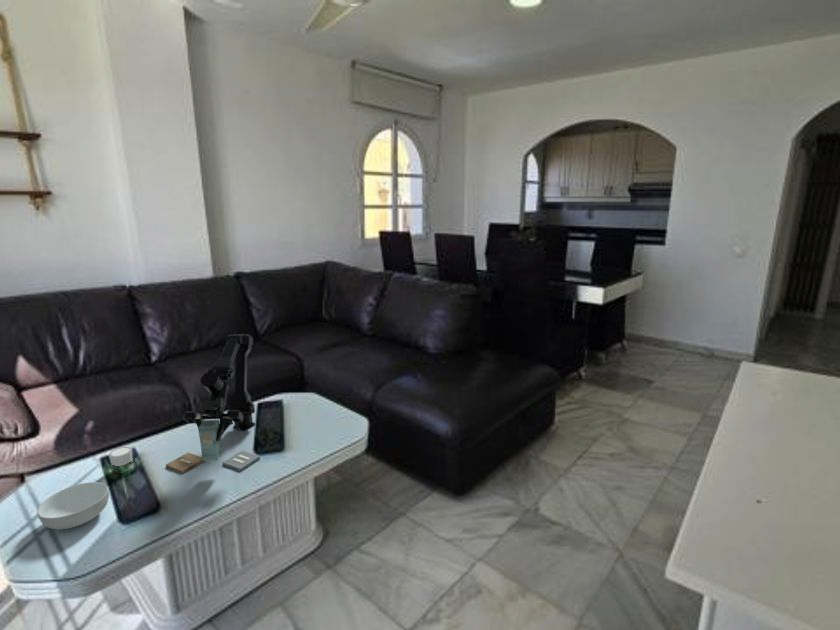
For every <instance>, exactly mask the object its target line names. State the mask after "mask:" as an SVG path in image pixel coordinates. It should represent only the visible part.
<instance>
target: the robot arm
mask: <svg viewBox="0 0 840 630" xmlns="http://www.w3.org/2000/svg"><path fill="white" fill-rule="evenodd" d="M253 344H254V338H253V336H251V335H250V334H248V333H247V334H244V333H242V334H240V333H239V334H229V335H227V337H226V343H225V345H224V348H223V351H222V353H221V356H220V358H219V359H218V360H216V361H214V363H213V364H212V366H211V368H209V369H208V371H207V372H205V373H204V374H203V375H202V376H201V378H200V384H201V386H202V387H203V388H204V389H206V391H207V392H209V395H208V397H207V398H206V400H202V401H200V402H199V403H200V404H199V411H200V412H201V411H202V412H203V413H200V412H199V411H197V410H186V411H185V412H184V413H183V416H182V419H183V420H184V421H185V422H187V424H190V425H191V424H194V425H196V426H197V431H198V432H199V429H198V427H199V426H200V425H201V424H202V422H203V421H204V420H219V424H220V425H219V429H218V433H217V439H216V441H219V440H220V438H221V439H222V436H223V435H224V433H225V432H226V431H227V430H228V428H229V427H230V426H231V425H232V427H233V429H236V430H240V431H246V430H248V429H249V428H250V429H251V428H252V427H253V426H255V425H256V422H253V414H255V413H256V407H255V404H254V402H253V401H252V397H251V395H250V393H249V392H248V389H247V388H248V387H247V386H248V384H247V383H248V381H247V379H248V356H249V353H251V350H252V347H253ZM234 362H235V363H234ZM233 365H234V366H233ZM233 377H234V391H233V393H232V394H231V395H230V396H229V402H228V410H227V411H226V412H225V406H227V402H226V401H227V397H228V396H227V395H228V390H229V389H230V387H229V384H228V383H227V382H226V381H231V380H233V379H232V378H233ZM254 424H255V425H254ZM199 438H200V436H199Z"/></svg>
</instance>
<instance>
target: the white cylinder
mask: <svg viewBox="0 0 840 630" xmlns="http://www.w3.org/2000/svg"><path fill="white" fill-rule="evenodd" d="M132 450H133V448H132V447H130V446H122V447H121V446H120V447H118V448H115V449H113V450H111V451H110V452H109V453H108V456H109V461H110V463H111V466H112V465H115V466H121V465H125V464H127V463H129V462H131V461H132V462H133V451H132Z"/></svg>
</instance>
